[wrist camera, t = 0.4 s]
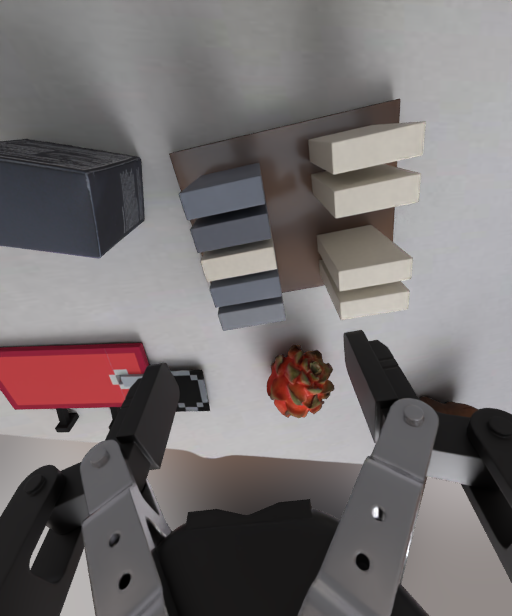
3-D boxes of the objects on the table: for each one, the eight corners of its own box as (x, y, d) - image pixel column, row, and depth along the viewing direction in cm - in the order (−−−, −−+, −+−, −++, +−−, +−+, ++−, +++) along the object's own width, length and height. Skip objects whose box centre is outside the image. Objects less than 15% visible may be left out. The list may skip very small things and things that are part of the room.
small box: (42, 210, 29) (-52, 244, 20) (24, 137, 26) (-98, 139, 17) (146, 224, 30) (100, 263, 21) (142, 155, 27) (85, 167, 18)
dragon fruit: (303, 319, 38) (296, 374, 46) (252, 348, 35) (253, 402, 42) (354, 359, 33) (336, 413, 41) (300, 398, 29) (292, 449, 37)
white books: (307, 139, 25) (331, 142, 17) (372, 124, 24) (426, 120, 16) (320, 275, 32) (340, 320, 24) (370, 265, 31) (408, 309, 23)
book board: (172, 152, 27) (168, 153, 25) (393, 100, 24) (400, 98, 23) (218, 298, 35) (217, 304, 33) (386, 268, 33) (391, 273, 31)
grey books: (200, 175, 26) (178, 193, 19) (259, 162, 26) (260, 175, 18) (230, 283, 32) (223, 331, 24) (278, 275, 32) (286, 320, 24)
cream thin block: (214, 226, 29) (200, 260, 21) (268, 215, 28) (273, 246, 20) (219, 243, 30) (207, 282, 22) (271, 233, 29) (277, 269, 21)
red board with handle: (212, 413, 46) (198, 338, 38) (210, 429, 43) (194, 352, 36) (32, 417, 47) (-18, 345, 39) (19, 433, 44) (-36, 359, 37)
